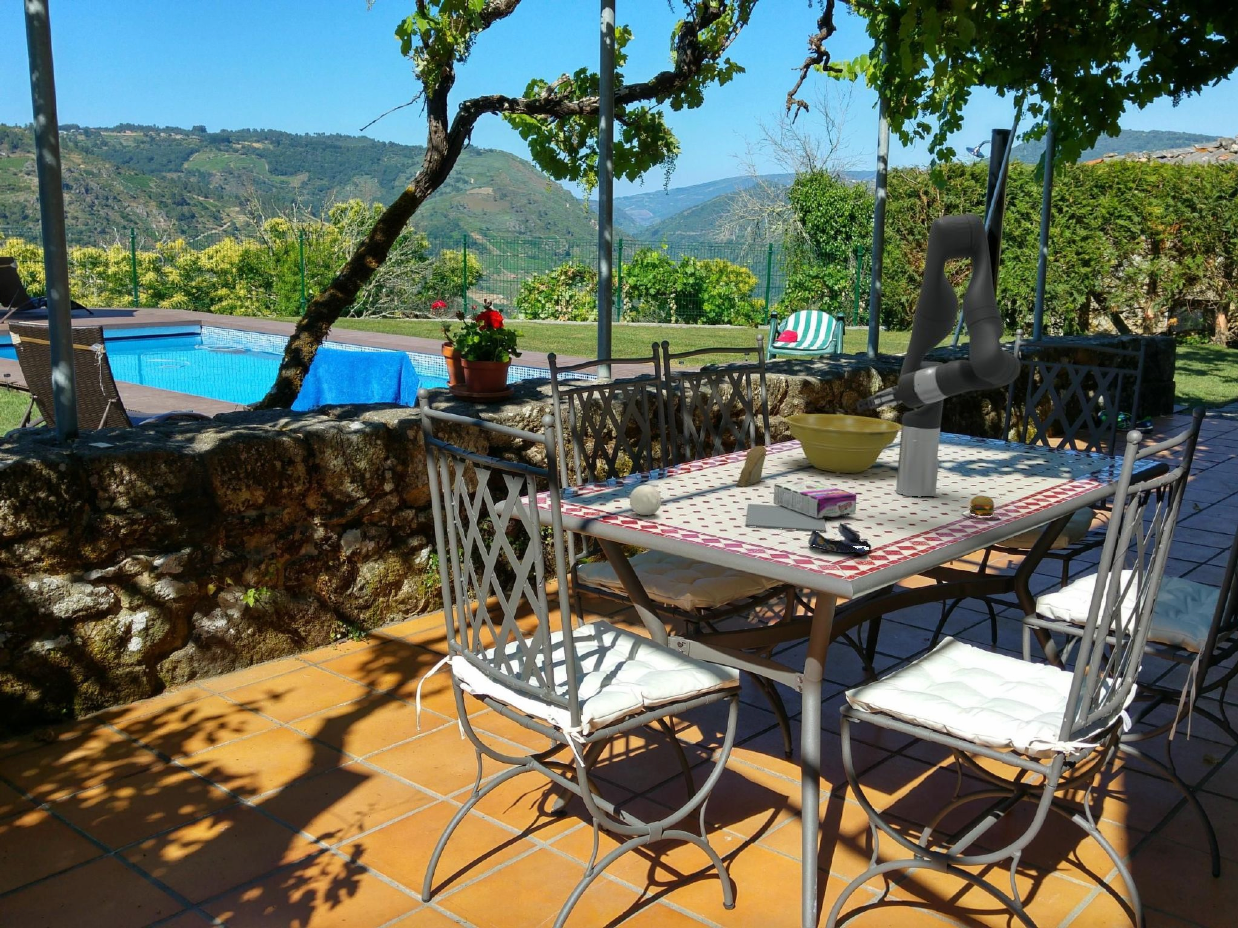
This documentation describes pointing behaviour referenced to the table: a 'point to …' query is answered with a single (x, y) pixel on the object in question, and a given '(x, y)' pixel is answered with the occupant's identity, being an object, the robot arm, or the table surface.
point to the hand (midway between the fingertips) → (858, 406)
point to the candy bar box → (814, 499)
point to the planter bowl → (842, 440)
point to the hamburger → (982, 506)
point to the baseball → (645, 500)
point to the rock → (752, 466)
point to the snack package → (840, 541)
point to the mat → (781, 518)
